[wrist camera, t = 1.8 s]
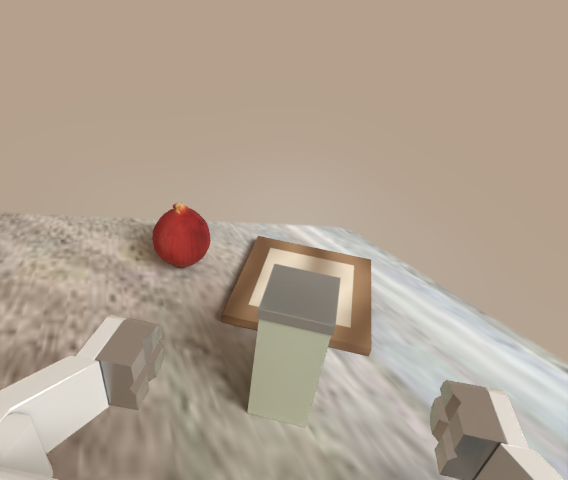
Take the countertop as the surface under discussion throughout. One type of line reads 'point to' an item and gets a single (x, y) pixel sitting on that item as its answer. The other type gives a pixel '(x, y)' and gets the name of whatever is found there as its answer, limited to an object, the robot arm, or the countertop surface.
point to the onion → (181, 236)
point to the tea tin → (292, 342)
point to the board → (351, 269)
